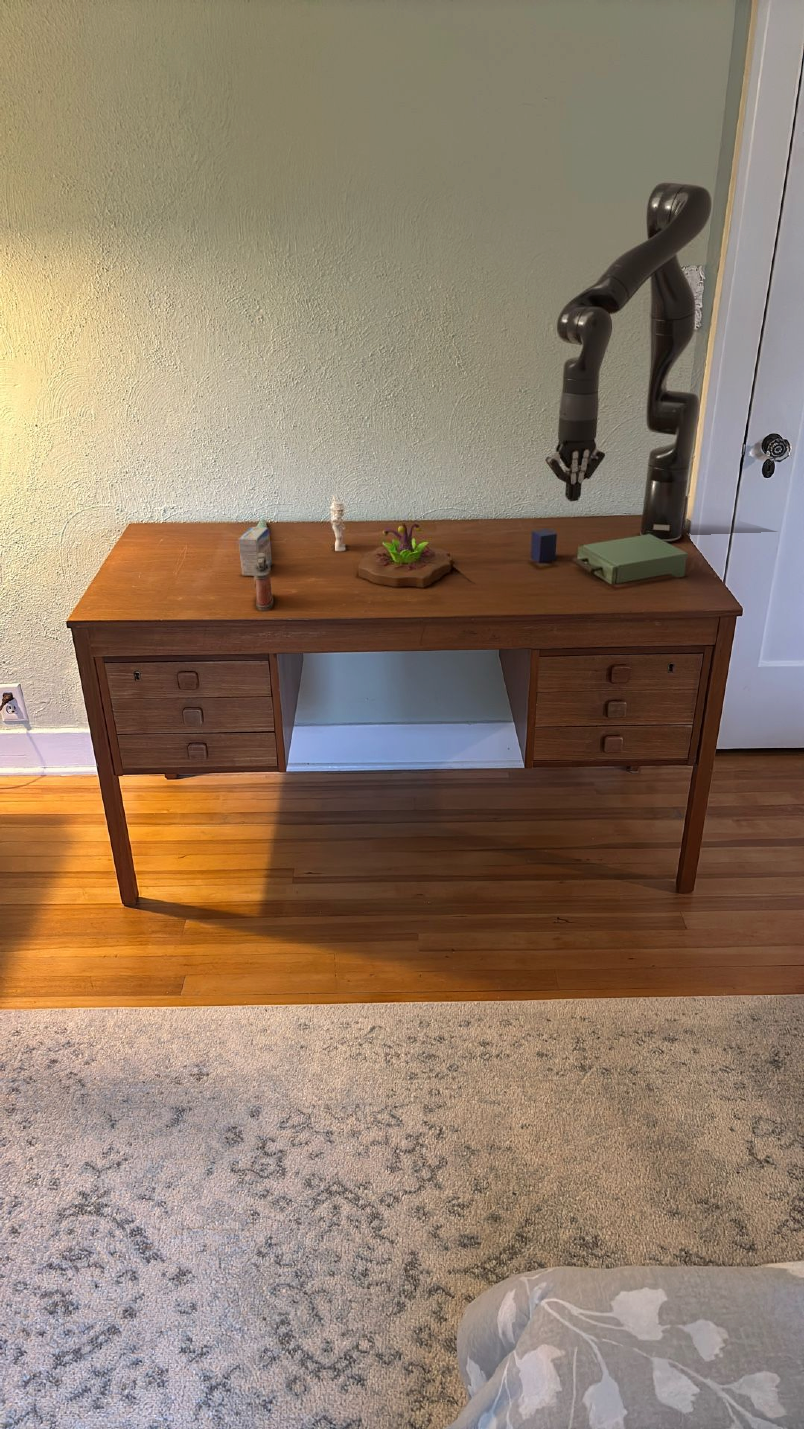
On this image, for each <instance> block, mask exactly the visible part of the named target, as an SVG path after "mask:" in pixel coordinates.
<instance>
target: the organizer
mask: <svg viewBox="0 0 804 1429" xmlns="http://www.w3.org/2000/svg"><path fill="white" fill-rule="evenodd" d="M582 546H583V547H584V548H586V549H588V550H589V551H591V552H593V553H595V554H596V555H598V556H600V557H601V558H603V559H605V560H606V561H608V562H610V563H612V564H613V565H615V566H617V570H616V580H615V584H621V583H626V582H631V581H638V580H642V579H647V578H654V577H660V576H664V575H665V576H666V575H672V576H673V577H675V578H682V577H683V578H684V577H685V575H686V567H687V559H688V553H687V552H685V550H682V549H680V548H678V547H676V546H675V545H672V544H670V543H666V542H664V541H662V540H660V539H659V538H657V537H655V536H653V535H651V534H648V535H641V536H640V535H636V536H629V537H624V538H617V539H612V540H605V541H600V542H593V543H587V544H583V545H582Z"/></svg>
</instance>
